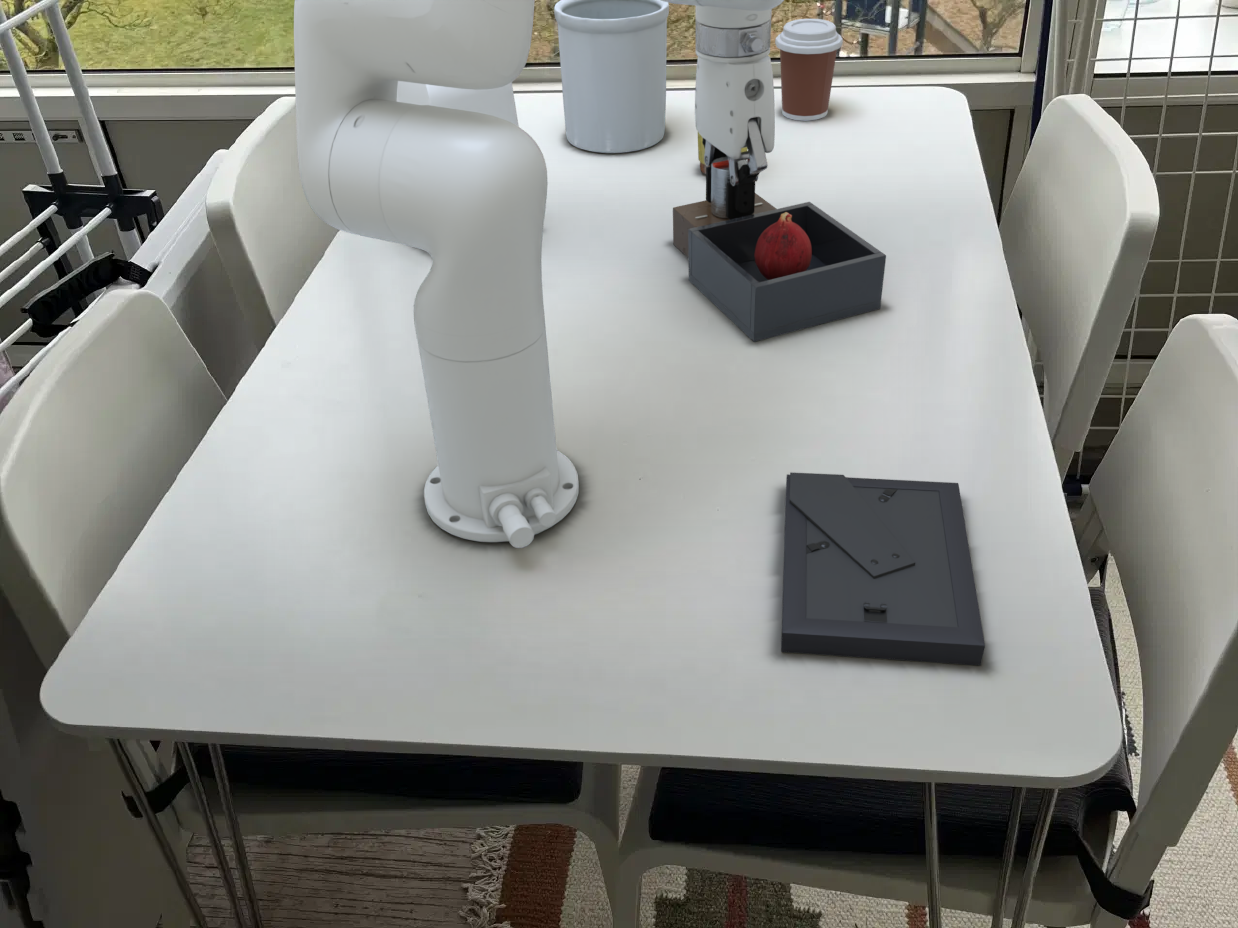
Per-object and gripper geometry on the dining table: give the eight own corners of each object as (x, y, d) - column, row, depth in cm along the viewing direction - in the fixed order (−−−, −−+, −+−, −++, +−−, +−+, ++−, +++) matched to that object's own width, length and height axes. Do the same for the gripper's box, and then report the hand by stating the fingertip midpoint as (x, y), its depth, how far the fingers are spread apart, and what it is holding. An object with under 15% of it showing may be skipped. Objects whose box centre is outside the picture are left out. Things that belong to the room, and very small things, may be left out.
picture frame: (785, 492, 92) (780, 652, 78) (786, 470, 91) (782, 629, 77) (955, 501, 90) (981, 666, 76) (958, 479, 89) (986, 642, 75)
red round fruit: (807, 300, 115) (812, 228, 111) (750, 297, 116) (753, 225, 112) (811, 274, 120) (815, 203, 115) (756, 271, 121) (759, 201, 116)
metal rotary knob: (736, 201, 127) (737, 151, 124) (753, 214, 124) (755, 163, 121) (704, 208, 126) (704, 158, 122) (721, 221, 123) (722, 170, 120)
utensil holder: (604, 110, 166) (598, -17, 155) (690, 128, 158) (690, -4, 148) (541, 143, 156) (530, 10, 146) (630, 163, 149) (625, 25, 139)
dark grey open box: (880, 309, 115) (886, 255, 112) (753, 342, 111) (755, 287, 108) (806, 252, 126) (809, 201, 123) (688, 280, 122) (688, 228, 119)
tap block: (785, 254, 126) (787, 215, 123) (705, 273, 123) (705, 234, 120) (750, 226, 132) (751, 188, 130) (672, 244, 129) (672, 205, 127)
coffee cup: (770, 123, 159) (774, 35, 151) (774, 101, 166) (777, 16, 159) (836, 124, 157) (843, 35, 150) (837, 102, 164) (844, 16, 157)
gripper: (808, 54, 109) (797, 230, 120) (728, 12, 121) (725, 175, 132) (738, 66, 107) (734, 245, 117) (664, 22, 119) (667, 187, 130)
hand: (729, 206), depth 125 cm, fingers closed on metal rotary knob, 4 cm apart
